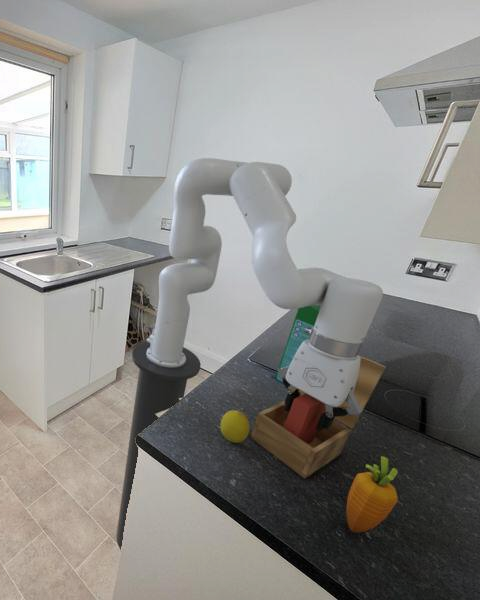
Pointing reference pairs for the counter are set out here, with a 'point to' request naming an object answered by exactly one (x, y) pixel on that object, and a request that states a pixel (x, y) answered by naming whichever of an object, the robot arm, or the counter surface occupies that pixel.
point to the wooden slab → (362, 387)
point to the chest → (298, 441)
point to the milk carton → (298, 334)
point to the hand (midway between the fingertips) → (305, 417)
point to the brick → (304, 417)
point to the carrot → (371, 497)
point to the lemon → (234, 426)
